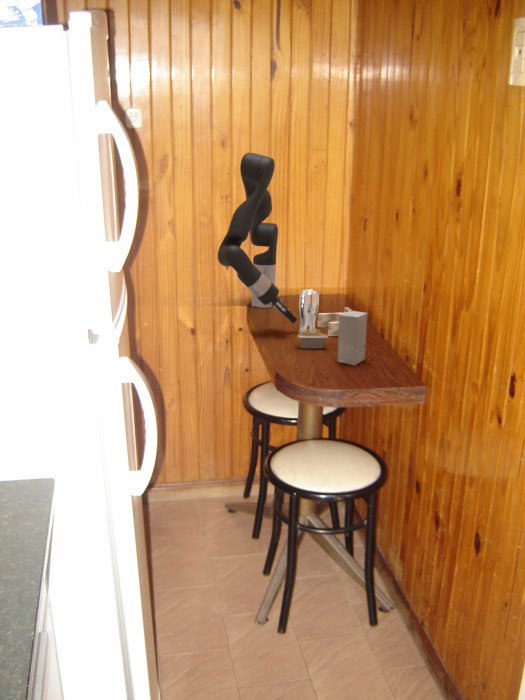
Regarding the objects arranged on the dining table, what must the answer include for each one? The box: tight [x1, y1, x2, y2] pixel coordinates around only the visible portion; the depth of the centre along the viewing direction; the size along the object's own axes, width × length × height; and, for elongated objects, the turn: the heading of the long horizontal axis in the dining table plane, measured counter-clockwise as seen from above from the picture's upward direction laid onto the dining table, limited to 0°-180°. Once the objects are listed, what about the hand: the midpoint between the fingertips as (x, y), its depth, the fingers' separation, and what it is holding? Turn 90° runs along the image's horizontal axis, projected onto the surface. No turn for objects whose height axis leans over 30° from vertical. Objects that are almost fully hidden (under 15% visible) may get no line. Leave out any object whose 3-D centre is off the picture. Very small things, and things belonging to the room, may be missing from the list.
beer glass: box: [298, 289, 320, 334], centre depth 261 cm, size 7×7×15 cm
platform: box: [297, 328, 329, 349], centre depth 246 cm, size 12×18×7 cm, turn 95°
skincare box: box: [337, 310, 368, 367], centre depth 232 cm, size 8×7×16 cm
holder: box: [317, 306, 353, 336], centre depth 265 cm, size 12×13×7 cm
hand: (294, 321), depth 260 cm, fingers closed
